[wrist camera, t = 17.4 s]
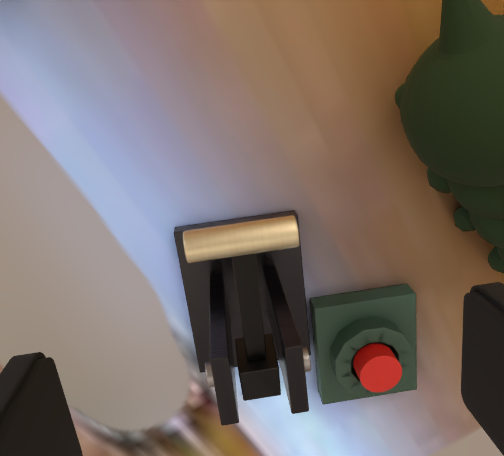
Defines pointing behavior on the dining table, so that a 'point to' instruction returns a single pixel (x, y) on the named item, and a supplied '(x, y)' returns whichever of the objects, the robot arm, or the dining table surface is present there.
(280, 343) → the lever bracket
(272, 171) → the dining table surface
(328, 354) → the console
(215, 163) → the dining table surface
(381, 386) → the button
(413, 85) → the green bumpy upright shape
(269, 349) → the press lever
